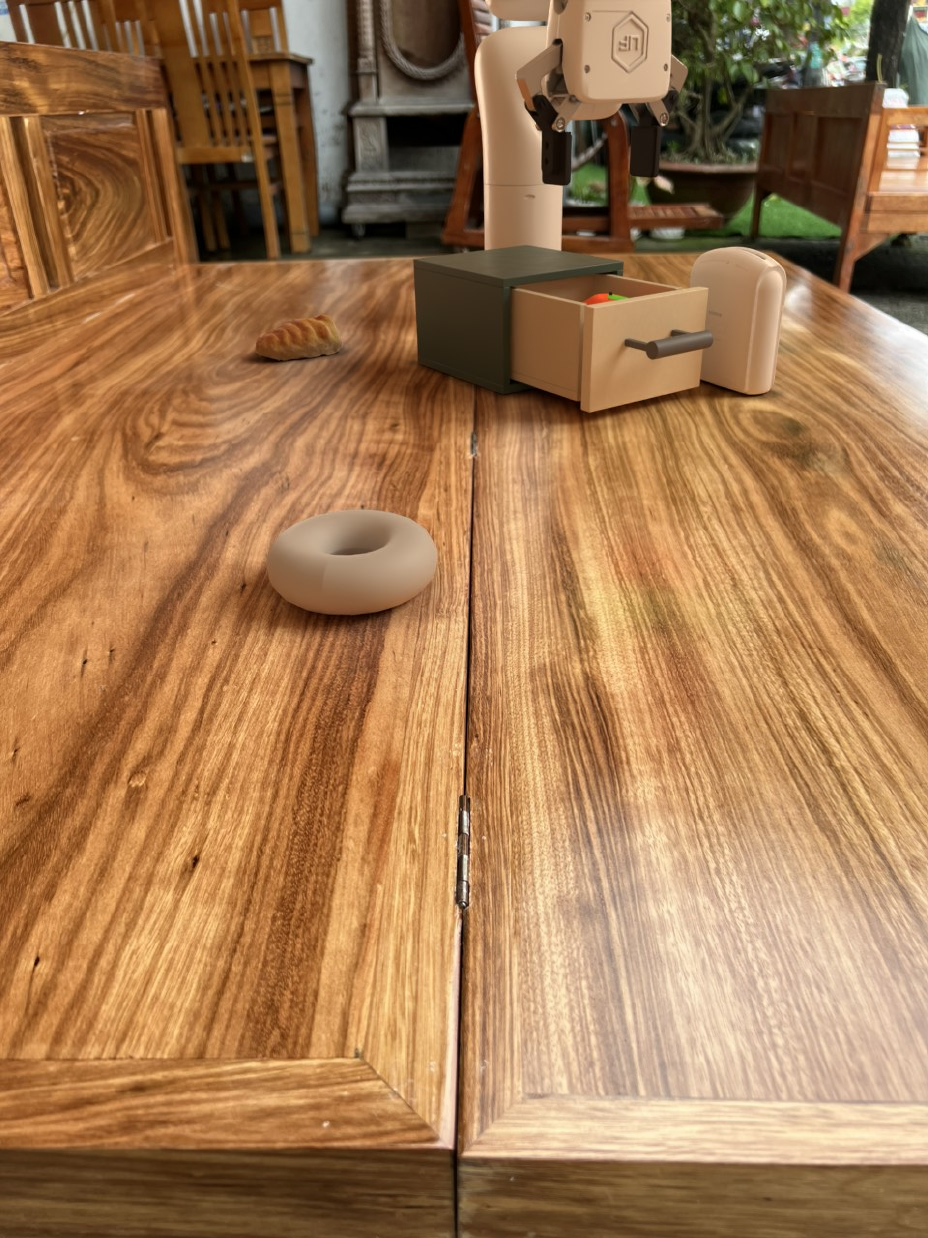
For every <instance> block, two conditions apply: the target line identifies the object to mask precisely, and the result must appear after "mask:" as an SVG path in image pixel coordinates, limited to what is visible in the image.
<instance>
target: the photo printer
mask: <svg viewBox="0 0 928 1238" xmlns="http://www.w3.org/2000/svg"><path fill="white" fill-rule="evenodd" d="M698 286H699V287H705V288H708V299H707V310H706V320H705V330H708V331H710V332H711V333H712V335H713V344H712V345H711V346H710V347H709V348H705V349H703V351H702V362H701V372H700V381H704V382H708V383H710V384H713V385H717V386H719V387H723V388H725V389H728V390H729V389H730V390H732V391H735V392H738V393H741V394H745V395H760V394H765V393H768V392H769V391H770V389H771V388H773V387H774V385H775V379H776V373H777V372H776V371H777V363H778V353H779V346H780V339H781V332H782V331H781V330H782V322H783V314H784V305H785V299H786V290H787V274H786V271H785V269H784V267H783V266H782V265H781V264H780V263H779V262H778V261H777V260H775V259H774V258H772V257H771V256H769V255H768V254H766V253H764V252H761V251H759V250H756V249H753V248H749V247H744V246H727V247H719V248H715V249H711V250H708V251H706V252H703V253H702V254H700V255H699V256H698V257H697V258H696V260H695V262H694V263H693V266H692V268H691V272H690V277H689V288H692V287H698Z"/></svg>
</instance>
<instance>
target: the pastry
mask: <svg viewBox="0 0 928 1238" xmlns="http://www.w3.org/2000/svg"><path fill="white" fill-rule="evenodd" d="M342 339H343V338H342V337H341V335H340V331H339V329H338V328H337V327H336V324H335V321H334V320H333V318H332V317H331V316H329V315H327V314H319V315H314V316H313V317H306V318H295V319H291V320H289V321H288V322H286V323H282V324H281V325H280V326H278V327H276V328H274V329H271V330H269V331H268V332H267V333H264V334H263V335H262V336H260V337H258V338H257V340H256V342H255V350H254V351H255V355H257V356H263V357H266V358H270V359H274V360H277V361H278V362H279V361H281V360H282V361H285V362H286V361H289V360H300V359H302V358H316V357H320V356H321V355H326V356H331V355H334V354H336V353H338V352H340V349H341V347H342V345H343V340H342Z"/></svg>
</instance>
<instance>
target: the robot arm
mask: <svg viewBox="0 0 928 1238" xmlns="http://www.w3.org/2000/svg"><path fill="white" fill-rule="evenodd" d="M484 2H485V5H486V8H487V9H488V11H489V12H490V14H491V15H492V16H494V17H495V18H498V19H500V20H504V21H511V22H547V25H525V26H523V25H522V26H511V27H510V26H509V27H504V28H501V29H498V30H495V31H493V32H491V33H489V34H488V35H487V36H486V37H484V38H483V39H482V41H481V42H480V43H479V45H478V47H477V50H476V52H475V57H474V69H473V70H474V73H473V74H474V83H475V90H476V97H477V104H478V110H479V118H480V126H481V128H480V129H481V140H482V157H483V160H482V161H483V213H484V214H483V215H484V217H483V219H484V220H483V222H484V225H483V226H484V230H483V231H484V250H490V249H498V248H506V247H514V246H522V245H530V246H536V247H542V248H548V249H554V250H560V251H562V232H563V231H562V230H563V228H562V227H563V190H564V189H563V188H564V187H565V186H566V187H567V186H569V185H570V184H571V182H572V155H573V134H572V131H566V129H567V127H568V125H569V123H570V122H572V121H589V120H590V121H592V120H602V119H607V118H609V117H611V116H613V115H615V114H616V113H617V112H618V111H619V109H620V108H621V107H622V106H623V104H627V105H628V106H629V108H630V110H631V112H632V114H633V116H634V117H635V120H636V121H637V124H638V125H632V129H631V131H630V132H631V133H630V148H629V149H630V151H629V153H630V154H629V168H628V173H629V175H630V176H631V177H638V178H649V179H654V178H655V179H656V178H658V176H659V172H660V161H661V143H662V129H663V127H665V126H667V125H668V123H669V121H670V114H671V113H672V111H673V110H674V109H675V107H676V106H677V104H678V103H679V100H680V94H681V92H682V90H683V87H684V84H685V82H686V80H687V77H688V74H689V69H688V67H687V66H686V65H685V64H684V63H683V62H682V61H680V59H678V58H677V57H676V56H675V55H673V54H672V1H671V0H484Z"/></svg>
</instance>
